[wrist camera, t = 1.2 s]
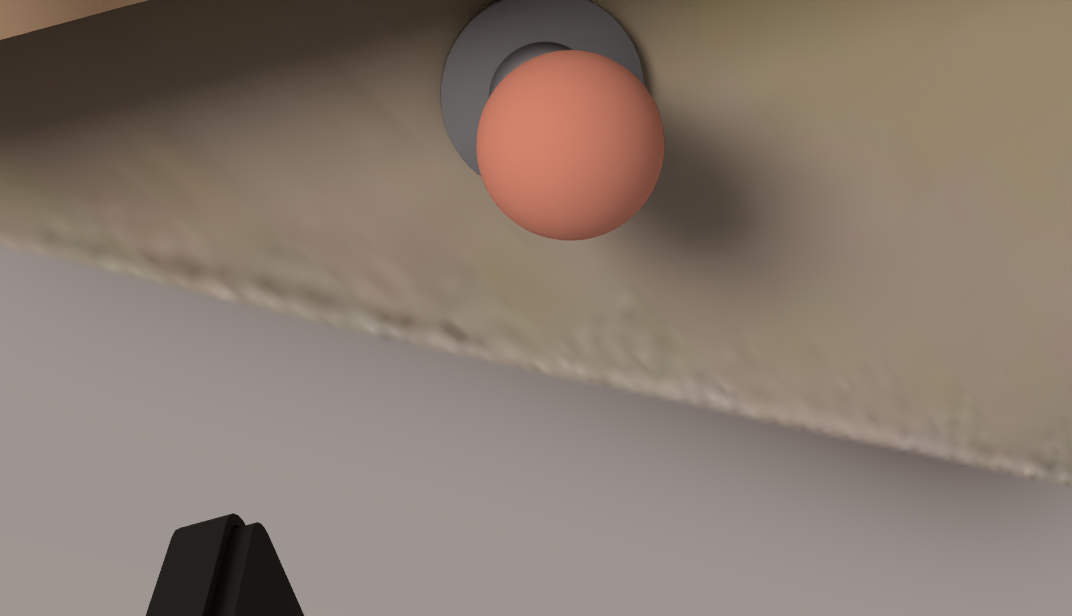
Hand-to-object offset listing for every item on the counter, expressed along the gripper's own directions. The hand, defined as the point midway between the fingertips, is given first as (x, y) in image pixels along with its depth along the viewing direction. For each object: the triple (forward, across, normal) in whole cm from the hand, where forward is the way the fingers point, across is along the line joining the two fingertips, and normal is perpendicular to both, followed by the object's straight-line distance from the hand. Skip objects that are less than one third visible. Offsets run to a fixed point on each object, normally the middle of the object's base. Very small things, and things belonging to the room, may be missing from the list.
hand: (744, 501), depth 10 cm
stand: (+18, 0, 0) cm, 18 cm away
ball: (+13, 0, 0) cm, 13 cm away
